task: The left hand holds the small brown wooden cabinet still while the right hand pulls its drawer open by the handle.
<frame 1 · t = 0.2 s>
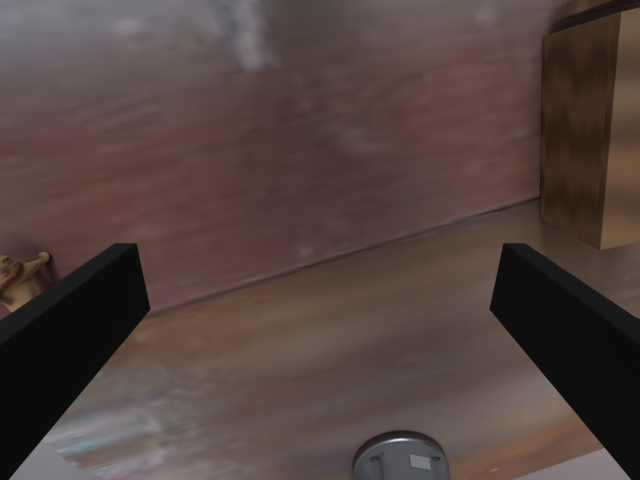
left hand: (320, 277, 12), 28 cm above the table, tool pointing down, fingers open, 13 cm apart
drawer: (638, 62, 31), point 5 cm above the table, slide at 1.0 cm
lion figurine: (49, 280, 44), on the table
cabinet: (593, 124, 37), on the table
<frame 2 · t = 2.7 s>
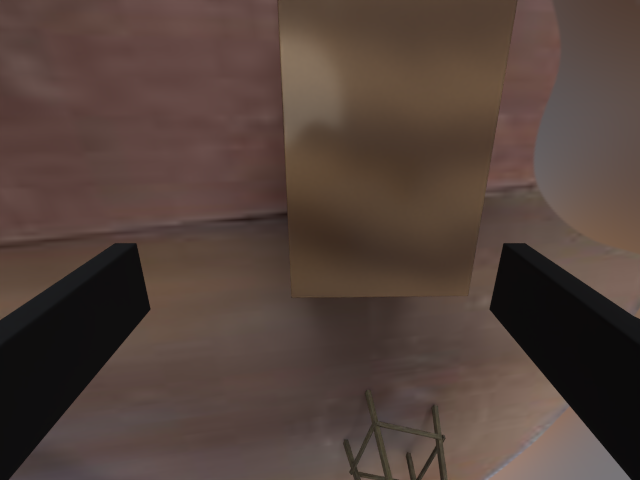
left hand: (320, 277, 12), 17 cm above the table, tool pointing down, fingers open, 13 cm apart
miniature windmill: (388, 423, 38), on the table
cabinet: (366, 126, 27), on the table
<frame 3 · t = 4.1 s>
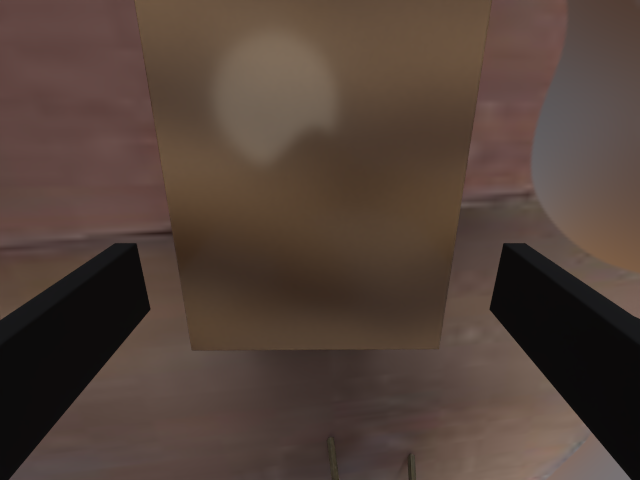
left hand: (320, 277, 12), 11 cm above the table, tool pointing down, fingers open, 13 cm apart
miniature windmill: (356, 473, 32), on the table
cabinet: (315, 115, 21), on the table
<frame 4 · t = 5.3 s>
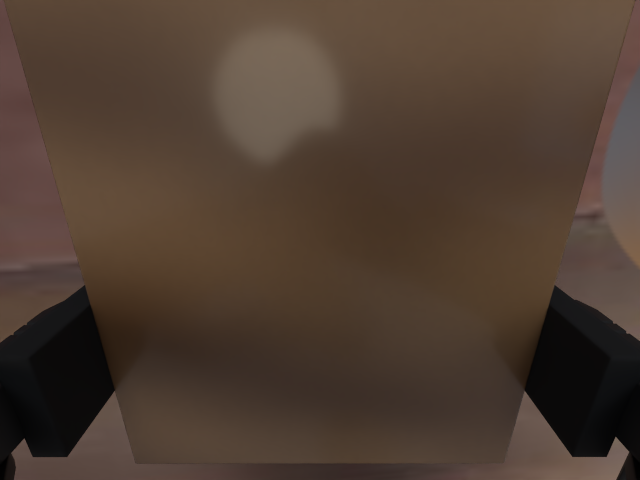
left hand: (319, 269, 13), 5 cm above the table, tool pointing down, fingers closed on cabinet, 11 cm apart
cabinet: (319, 113, 16), on the table, touching left hand
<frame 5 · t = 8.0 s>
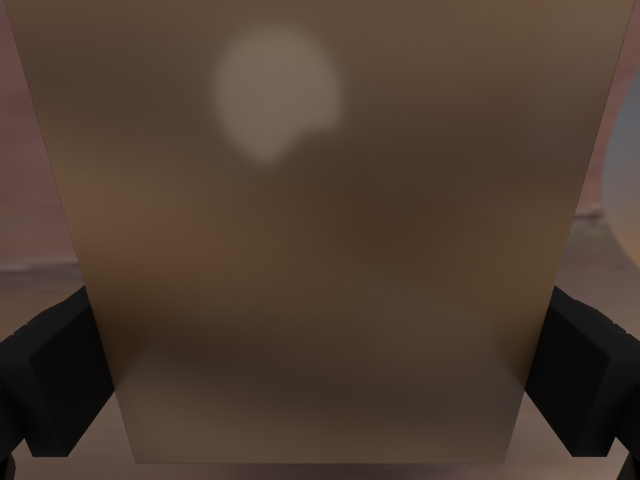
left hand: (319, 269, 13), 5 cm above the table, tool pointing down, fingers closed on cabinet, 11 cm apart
cabinet: (319, 113, 16), on the table, touching left hand
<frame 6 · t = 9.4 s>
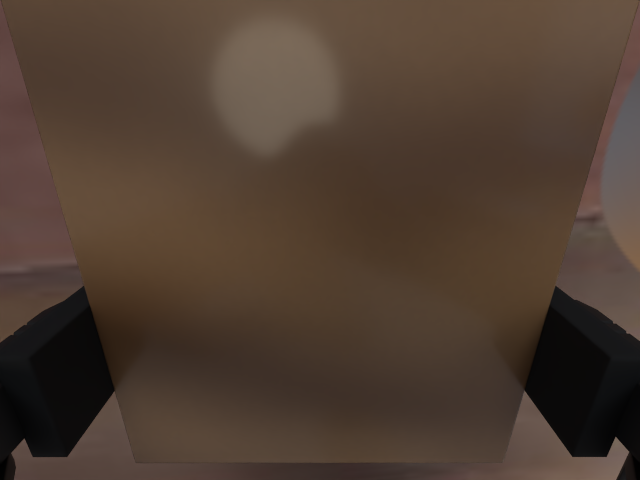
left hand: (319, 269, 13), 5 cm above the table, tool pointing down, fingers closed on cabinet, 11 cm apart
cabinet: (319, 111, 16), on the table, touching left hand
when the left hand's fingers open (5 cm above the table, at t = 10.9 s): cabinet stays where it is, on the table.
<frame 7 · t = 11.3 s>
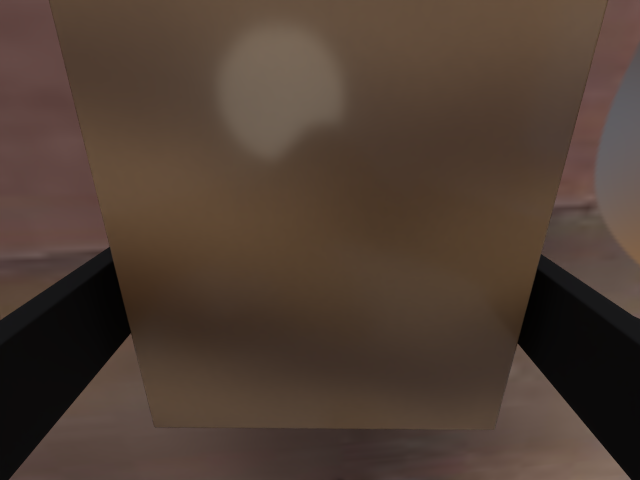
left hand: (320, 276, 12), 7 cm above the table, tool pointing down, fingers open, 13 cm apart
cabinet: (324, 106, 16), on the table
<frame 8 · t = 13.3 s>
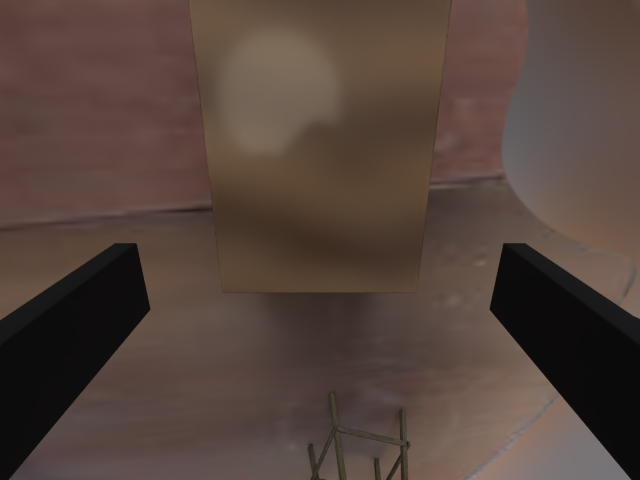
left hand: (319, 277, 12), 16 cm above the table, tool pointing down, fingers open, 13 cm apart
miniature windmill: (354, 427, 37), on the table
cabinet: (319, 108, 25), on the table
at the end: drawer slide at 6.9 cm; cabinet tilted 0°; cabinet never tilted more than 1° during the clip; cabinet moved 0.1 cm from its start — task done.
